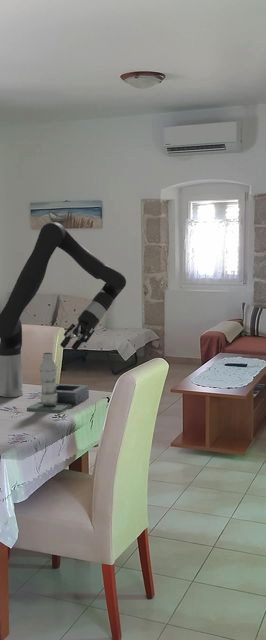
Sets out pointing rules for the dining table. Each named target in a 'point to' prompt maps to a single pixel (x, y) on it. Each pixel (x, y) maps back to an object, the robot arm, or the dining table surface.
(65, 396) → the metal collar
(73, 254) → the robot arm
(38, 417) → the dining table surface
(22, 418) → the dining table surface
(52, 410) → the grey-green rectangular panel
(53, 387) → the silver metal bottle
